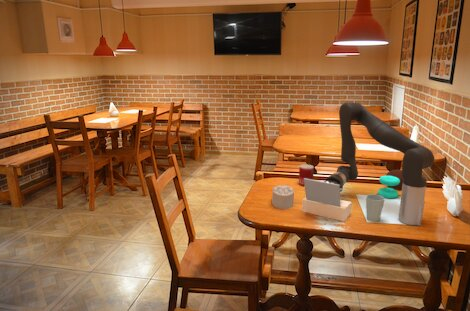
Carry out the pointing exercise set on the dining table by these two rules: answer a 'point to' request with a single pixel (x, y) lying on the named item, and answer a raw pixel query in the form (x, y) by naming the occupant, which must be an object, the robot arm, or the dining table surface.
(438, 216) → the dining table surface
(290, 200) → the paw print tray
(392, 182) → the pair of teal discs
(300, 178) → the canned food
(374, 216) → the cup
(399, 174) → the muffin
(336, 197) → the flap
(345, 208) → the carton
